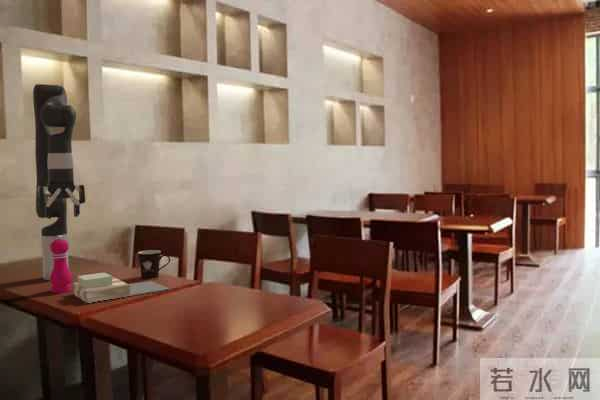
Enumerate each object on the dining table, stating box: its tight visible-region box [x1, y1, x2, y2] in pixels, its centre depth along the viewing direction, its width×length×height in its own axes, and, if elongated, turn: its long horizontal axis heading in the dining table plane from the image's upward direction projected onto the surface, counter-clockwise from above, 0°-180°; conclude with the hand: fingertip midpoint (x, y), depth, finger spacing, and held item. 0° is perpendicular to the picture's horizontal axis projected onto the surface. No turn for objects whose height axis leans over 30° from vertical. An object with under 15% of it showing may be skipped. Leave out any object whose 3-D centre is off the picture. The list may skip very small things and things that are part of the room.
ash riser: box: [72, 276, 130, 304], centre depth 185 cm, size 16×14×4 cm
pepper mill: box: [49, 235, 73, 294], centre depth 191 cm, size 7×7×20 cm
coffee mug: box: [137, 249, 171, 280], centre depth 212 cm, size 12×9×10 cm
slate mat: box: [128, 280, 170, 297], centre depth 193 cm, size 16×14×1 cm
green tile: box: [77, 272, 113, 289], centre depth 183 cm, size 8×9×3 cm
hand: (62, 217), depth 176 cm, fingers open, 8 cm apart
